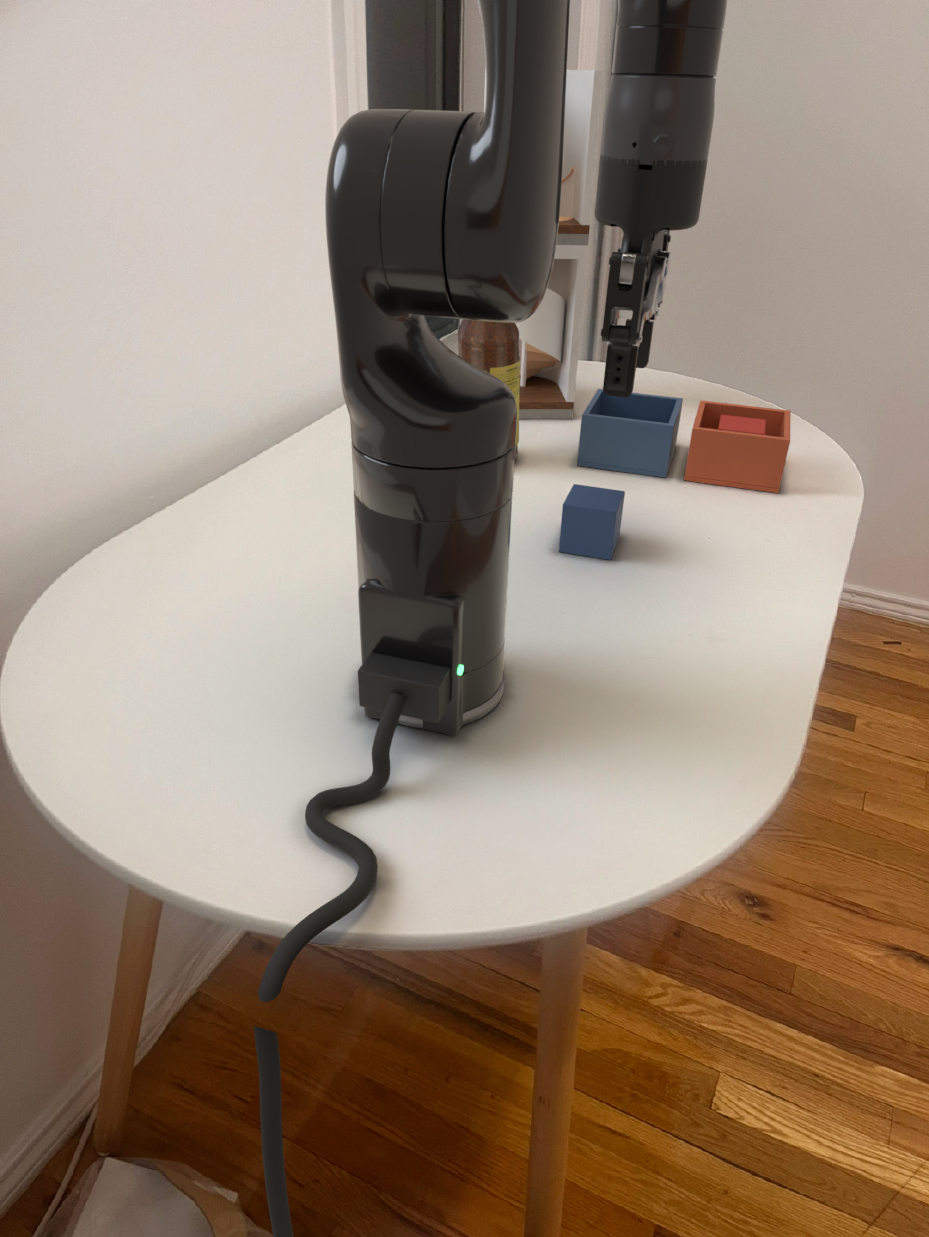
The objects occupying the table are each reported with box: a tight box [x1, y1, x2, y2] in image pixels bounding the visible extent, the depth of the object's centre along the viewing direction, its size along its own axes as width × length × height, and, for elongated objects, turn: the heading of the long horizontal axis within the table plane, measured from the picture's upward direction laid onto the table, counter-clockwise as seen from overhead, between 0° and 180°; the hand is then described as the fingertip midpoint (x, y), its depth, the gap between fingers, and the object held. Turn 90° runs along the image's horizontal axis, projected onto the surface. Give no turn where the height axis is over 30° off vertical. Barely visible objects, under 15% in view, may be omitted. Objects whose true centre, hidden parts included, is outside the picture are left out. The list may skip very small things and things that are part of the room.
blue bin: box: [576, 388, 684, 479], centre depth 93 cm, size 9×9×6 cm
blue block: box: [558, 483, 626, 561], centre depth 75 cm, size 4×4×4 cm
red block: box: [718, 415, 766, 435], centre depth 90 cm, size 4×4×4 cm
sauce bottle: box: [457, 319, 520, 460], centre depth 88 cm, size 6×6×20 cm
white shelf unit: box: [483, 67, 605, 420], centre depth 99 cm, size 11×11×35 cm
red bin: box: [683, 400, 791, 494], centre depth 90 cm, size 9×9×6 cm
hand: (626, 380), depth 71 cm, fingers open, 8 cm apart
